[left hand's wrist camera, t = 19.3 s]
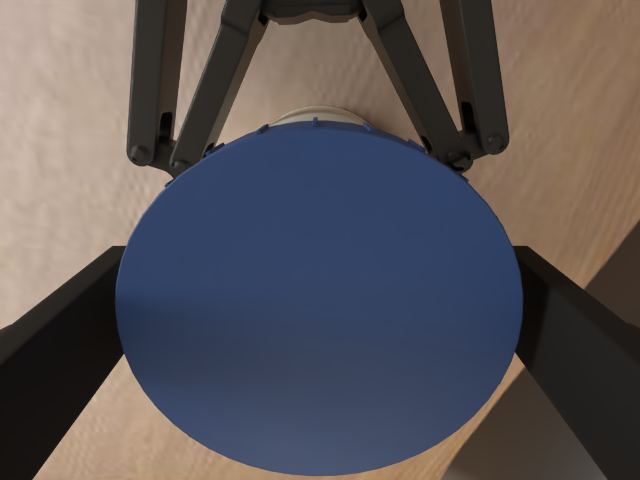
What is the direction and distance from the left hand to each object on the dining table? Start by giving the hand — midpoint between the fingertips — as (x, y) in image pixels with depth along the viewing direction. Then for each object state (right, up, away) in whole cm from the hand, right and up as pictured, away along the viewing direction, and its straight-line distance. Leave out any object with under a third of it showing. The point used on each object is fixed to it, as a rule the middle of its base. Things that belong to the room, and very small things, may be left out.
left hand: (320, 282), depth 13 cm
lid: (0, -1, -2) cm, 3 cm away
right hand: (0, -1, +9) cm, 9 cm away
